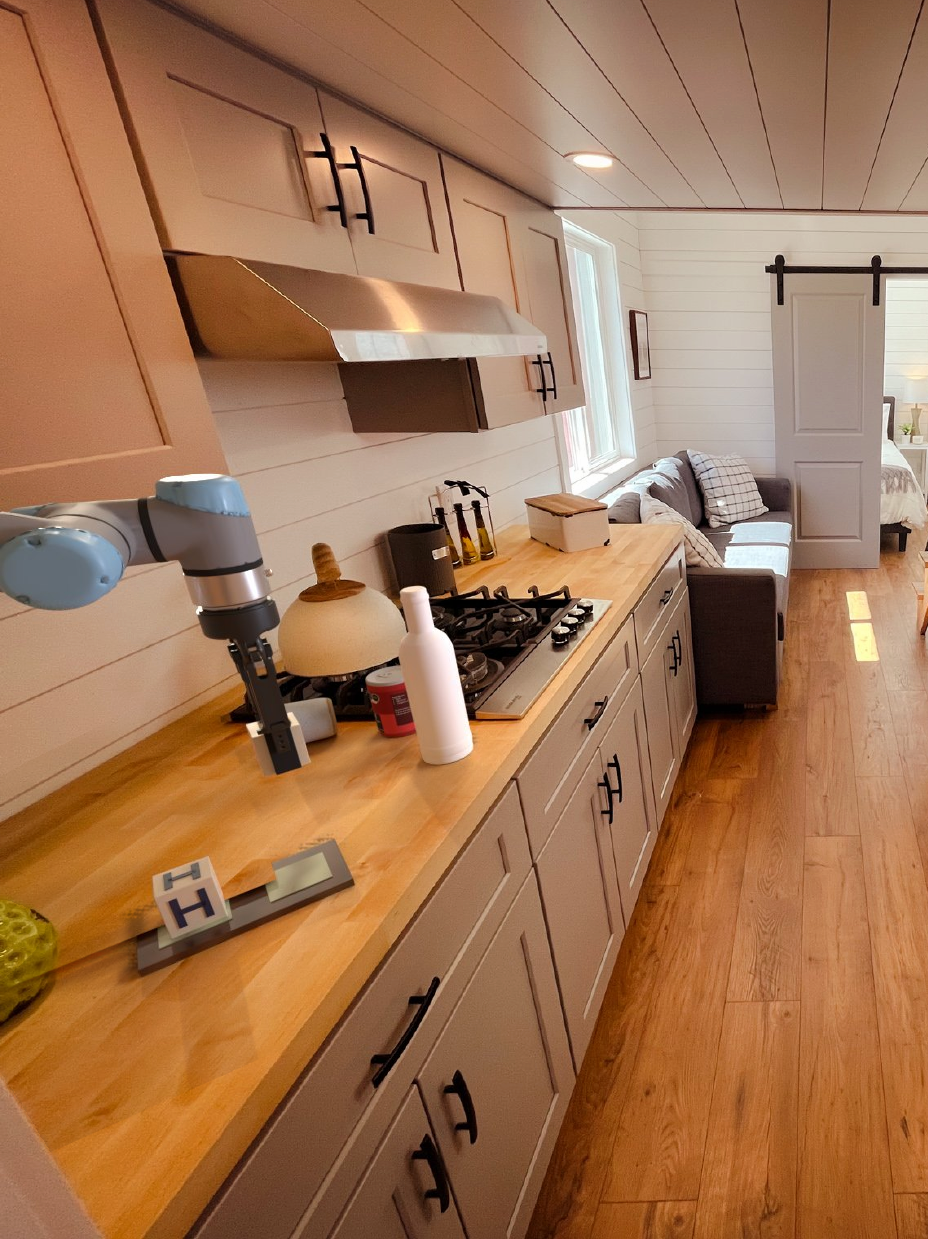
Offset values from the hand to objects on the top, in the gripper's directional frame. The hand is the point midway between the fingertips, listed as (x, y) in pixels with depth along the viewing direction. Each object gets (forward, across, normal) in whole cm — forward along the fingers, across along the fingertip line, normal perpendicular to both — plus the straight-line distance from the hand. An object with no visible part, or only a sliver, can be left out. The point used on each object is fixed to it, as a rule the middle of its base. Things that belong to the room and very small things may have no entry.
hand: (284, 761), depth 92 cm
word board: (+12, -10, +8) cm, 18 cm away
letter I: (0, 0, 0) cm, 0 cm away
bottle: (+12, +9, -22) cm, 27 cm away
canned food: (+12, +24, -19) cm, 33 cm away
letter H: (+11, -10, +12) cm, 20 cm away
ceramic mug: (+13, +32, -6) cm, 35 cm away
